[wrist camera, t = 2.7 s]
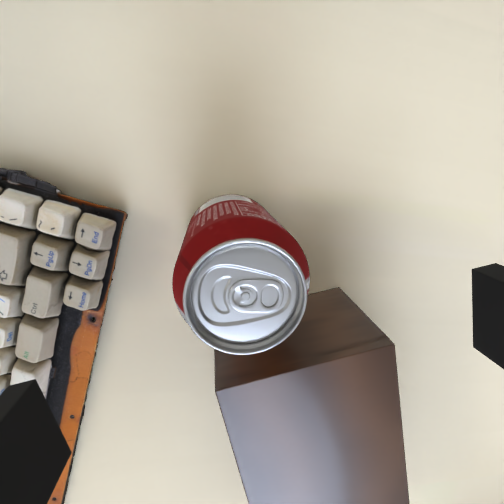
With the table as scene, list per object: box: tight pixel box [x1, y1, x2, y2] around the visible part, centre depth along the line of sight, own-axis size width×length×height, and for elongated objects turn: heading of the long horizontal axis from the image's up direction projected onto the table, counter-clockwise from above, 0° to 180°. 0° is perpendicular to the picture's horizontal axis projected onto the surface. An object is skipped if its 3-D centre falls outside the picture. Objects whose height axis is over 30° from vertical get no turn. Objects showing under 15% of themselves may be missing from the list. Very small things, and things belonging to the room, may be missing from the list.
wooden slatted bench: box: [214, 287, 409, 504], centre depth 27 cm, size 11×21×9 cm, turn 12°
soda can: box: [173, 195, 310, 355], centre depth 20 cm, size 7×7×12 cm
